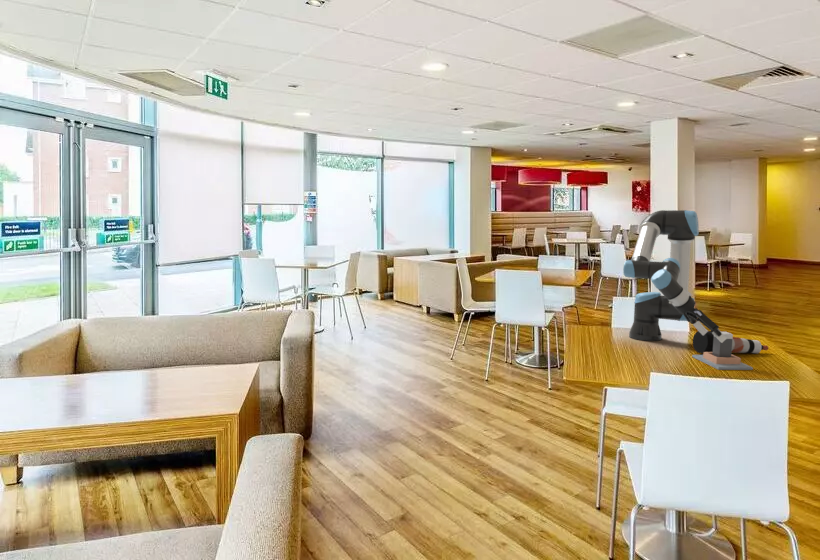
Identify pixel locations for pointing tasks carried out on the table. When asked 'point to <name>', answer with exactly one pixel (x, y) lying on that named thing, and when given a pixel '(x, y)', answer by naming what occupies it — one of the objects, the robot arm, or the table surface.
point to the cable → (738, 344)
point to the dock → (722, 362)
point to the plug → (723, 346)
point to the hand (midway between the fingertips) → (714, 336)
